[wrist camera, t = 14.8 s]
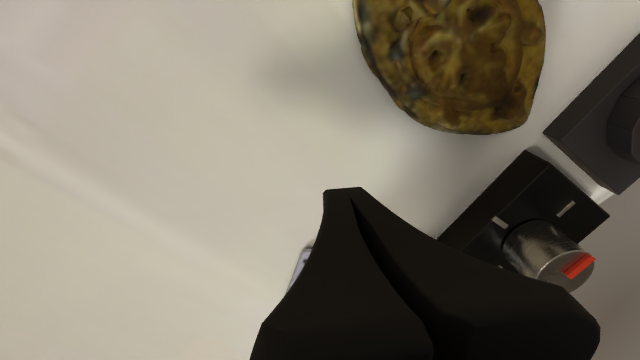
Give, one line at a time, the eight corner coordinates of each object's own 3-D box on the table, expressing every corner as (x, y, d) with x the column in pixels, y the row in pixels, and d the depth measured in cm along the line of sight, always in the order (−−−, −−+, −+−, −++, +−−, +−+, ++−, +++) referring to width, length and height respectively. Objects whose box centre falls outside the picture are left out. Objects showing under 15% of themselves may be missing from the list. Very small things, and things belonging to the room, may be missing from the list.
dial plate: (492, 280, 29) (511, 304, 27) (429, 244, 27) (444, 267, 24) (583, 199, 26) (614, 217, 24) (524, 148, 23) (551, 163, 21)
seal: (560, 58, 22) (413, -142, 16) (636, 61, 17) (473, -210, 12) (463, 166, 23) (300, 20, 18) (511, 193, 19) (316, 12, 13)
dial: (523, 269, 25) (560, 308, 22) (491, 249, 24) (526, 287, 21) (564, 234, 24) (610, 269, 21) (533, 210, 23) (577, 244, 19)
